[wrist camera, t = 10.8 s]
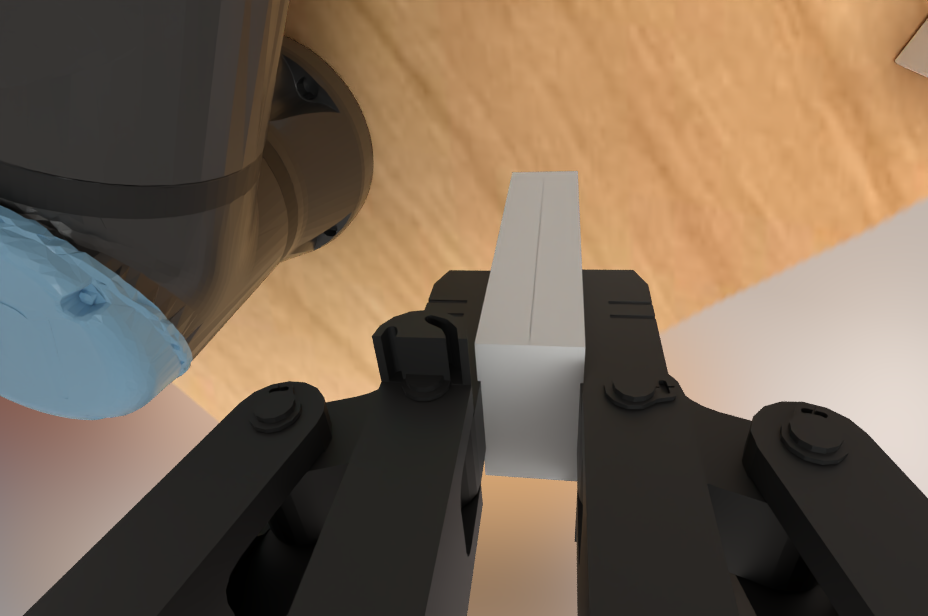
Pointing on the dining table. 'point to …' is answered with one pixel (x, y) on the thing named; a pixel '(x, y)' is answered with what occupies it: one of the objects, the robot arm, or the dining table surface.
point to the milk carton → (916, 52)
